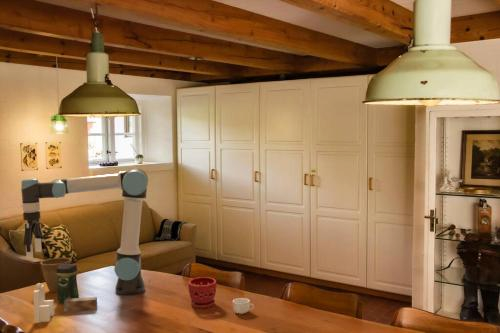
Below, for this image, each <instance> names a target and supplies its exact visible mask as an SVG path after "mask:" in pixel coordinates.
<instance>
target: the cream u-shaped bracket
mask: <svg viewBox="0 0 500 333" xmlns="http://www.w3.org/2000/svg"><path fill="white" fill-rule="evenodd" d="M45 288H46V287H45V284H42V283H40V282H38V283H36V284H35V289H34V291H33V292H32V294H33V295H32V296H33V312H34V324H40V323H48V322H51V317H53V316H55V301H54V299H46V293H45V290H46V289H45Z"/></svg>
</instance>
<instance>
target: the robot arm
mask: <svg viewBox="0 0 500 333" xmlns="http://www.w3.org/2000/svg"><path fill="white" fill-rule="evenodd" d="M148 182H149V177H148V175H147V173H146V172H145V171H144V170H143V169H140V168H132V169H128V170H124V171H123V170H121V171H119V172H118V173H113V174H103V175H102V174H101V175H92V176H91V175H90V176H81V177H74V178H73V177H72V178H70V177H69V178H63V179H62V178H57V179H55V180H52V181H49V182H39V180H38V178H26V179H22V180H21V182H20V183H21V186H20V187H21V189H20V190H21V199H22V204H21V207H22V211H23V213H22V219H23V220H24V221H27V223H24V234H23V235H24V236H23V246H25V255H26V259H27V260H28V259H29V260H30V259H34V254H33V253H34V252H33V251H34V248H35V253H38V252H40V253H41V252H43V251H42V250H43V248H42V239H43V237H44V236H43V232H42V228H41V224H40V219H41V211H40V210H41V205H40V204H41V203H40V199H53V198H54V199H55V198H56V199H58V198H64V197H65V196H66V195H67V194H75V193H86V192H97V191H105V190H106V191H107V190H115V189H117V190H118V189H120V190H121V191H122V193H121V197H122V198H123V199H124V205H123V213H122V214H123V216H122V224H121V225H122V227H121V238H120V247H118V249H117V250H116V256H115V258H116V259H115V265H114V273H115V275H116V276H117V281H116V285H115V294H117V295H120V296H121V295H122V296H129V295H130V296H131V295H138V294H140V293H143V292H145V290H146V284H145V282H144V279H143V276H142V263H141V262H142V261H141V258H142V257H141V255H142V252H141V248H140V247H139V243H140V242H139V241H140V233H141V232H140V231H141V220H142V212H143V211H142V210H143V201H145V199H146V198H147V191H148V190H147V189H148V184H149V183H148ZM33 236H34V248H33V244H32V242H33Z"/></svg>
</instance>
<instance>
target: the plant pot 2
mask: <svg viewBox="0 0 500 333" xmlns="http://www.w3.org/2000/svg"><path fill="white" fill-rule="evenodd" d="M188 293H189V297H190V304H191V306H192V307H194V308H197V309H206V308H207V307H208V308H210V306H211V307H212V306H213V305H215V303H216V300H215V297H216V293H217V280H216V279H215V278H213V277H209V276H199V277H193V278H191V279H190V280H189V281H188Z"/></svg>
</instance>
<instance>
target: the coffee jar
mask: <svg viewBox="0 0 500 333" xmlns="http://www.w3.org/2000/svg"><path fill="white" fill-rule="evenodd" d="M56 275H57V277H58V292H57V302H58V303H60V304H64V300H65V299H66V298H70V299H72V298H80V297H79V296H80V294H79V289H78V283H77V282H78V281H77V276H78V266H77V264H75V263H70V264H61V265H58V266H57V270H56Z"/></svg>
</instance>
